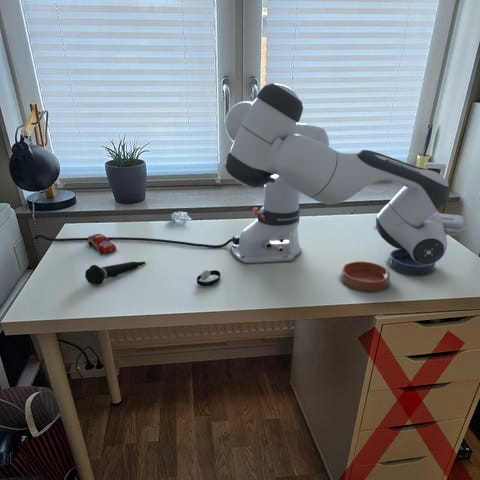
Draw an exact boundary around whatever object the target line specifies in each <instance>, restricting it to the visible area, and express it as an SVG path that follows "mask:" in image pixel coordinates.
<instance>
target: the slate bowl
mask: <svg viewBox="0 0 480 480" xmlns="http://www.w3.org/2000/svg"><path fill="white" fill-rule="evenodd" d="M436 263H437V262H435V263H432V264H426V265H424V264H419V263H417V262H416V261H415V260H413V258H412V257H411V256H410V254H409V252H408V251H407V250H402V249H398V248H395V249H393V250H392V251H390V253H389V257H388V265H389V267H390V268H392V269H393V270H395V271H398V272H400V273H402V274H406V275H412V276H414V275H415V276H424V275H428V274H430V273H432V272H433V271H434V270H435V266H436Z"/></svg>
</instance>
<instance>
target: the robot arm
mask: <svg viewBox="0 0 480 480" xmlns="http://www.w3.org/2000/svg"><path fill="white" fill-rule="evenodd" d="M303 112H304V107H303V102H302V101H301V99H300V98H299V96H298V94H296V92H295V91H294V90H293V89H292V88H290V87H289V86H287V85H285V84H281V83H273V82H271V83H267V84H265V85H264V86H263V87H262V88H261V89H260V90H259V91H258V93H256V95H255V98H254V100H253V101H240V102H238V103H235V104H234V105H233V106H231V108H229V110H228V112H227V113H226V116H225V121H224V127H225V132H226V135H227V136H228V138H229V139H230V140H231V141H232V142H233V143H232V146H231V148H230V151H228V152H227V155H226V159H225V164H224V167H225V169H226V172H227V173H228V174H229V175H230V177H231V178H232V179H233V180H234V181H235V182H237V183H238V184H240V185H243V186H246V187H250V188H259V187H263V205H262V207H261V208H260V209H259V208H258V207H257V206H255V207H253V208H252V213H253V214H254V215H255V216H257V219H255V220H254V221H253V222H251V223H250V224H249V225H248V226H247V227H245V228H244V229H242V230H241V231H240V234H236V235H232V238H230V239H228V240H227V241H226V242H224V243H222V244H215V245H214V244H205V243H195V242H187V241H180V240H171V239H160V238H148V237H126V236H124V237H122V236H121V237H119V236H111V237H110V236H109V237H108V236H106V237H107V238H108V239H109V240H110V239H111V240H110V241H143V242H155V243H156V242H157V243H168V244H177V245H184V246H189V247H191V246H192V247H201V248H209V249H219V248H224V247H227V246H228V245H229V244H230V243H232V246H231V253H232V254H233V256H234V257H235V258H236V259H237V260H238V261H240V262H242V263H244V264H259V263H260V264H262V263H280V262H291V261H292V262H293V260H294V259H295V257H296V256H298V255H299V254H300V253H301V247H300V241H299V223H300V217H301V216H300V215H301V209H300V198H301V194H303V195H305V196H306V197H308V198H310V199H312V200H313V201H315V202H319V203H321V204H325V205H337V204H340V203H343V202H345V201H347V200H349V199H351V198H352V197H354V196H355V195H356V194H357V193H359V192H360V191H362V190H363V189H365V188H367V187H369V186H371V185H373V184H375V183H377V182H380V181H388V182H391V183H394V184H396V185H400V186H402V188H400V189H399V191H398V192H396V194H395V195H394V196H393V197H392V198H391V199H390V200H389V201H388V202H387V203H386V204H385V206H384V207H382V208H381V210H380V211H379V212H378V213H377V214H376V215H375V226H376V225H377V228H376V229H377V232H378V234H379V236H380V237H381V238H382V239H383V240H384V241H385V242H386V243H387V244H389V245H390V246H391V247H393V248H395V249H402V250H407V251H408V252H409V254H410V256H411V257H412V258H413V260H415V261H416V262H417V263H419V264H424V265H426V264H432V263H435V262H436V263H437V262H438V261H440V260H441V259H442V258H443V257H444V255H445V253H446V252H447V247H448V238H447V236H451V237H452V236H453V237H458V236H460V235H461V234H466V233H467V227H466V226H464V224H465V217H464V216H462V215H460V214H449V213H441V212H439V210H440V209H441V208H442V207H443V206H444V205H446V204H447V203H448V202H449V199H450V194H451V193H450V192H451V186H450V183H449V182H448V181H447V180H446V178H445V177H444V176H442V175H441V174H440V173H439V172H436V171H434V170H431V169H428V168H423V167H419V166H415V165H413V164H410V163H407V162H404V161H401V160H400V159H397V158H393V157H391V156H388V155H385V154H383V153H381V152H380V153H379V152H377V151H373V150H369V149H361V150H360V151H357V152H351V153H350V152H349V153H347V152H346V153H345V152H340V151H337V150H336V149H334V148H332V147H330V139H329V136H328V132H327V131H326V130H325V128H323V127H320V126H317V125H313V124H310V123H303V122H300V120H301V117H302V115H303ZM39 238H42V239H44V240H46V241H51V242H75V241H76V242H77V241H78V242H80V241H88V237H70V238H69V237H67V238H55V237H54V238H51V237H48V236H46V235H43V234H36V235H35V236H34V238H33V240H37V239H39ZM436 263H435V264H436Z"/></svg>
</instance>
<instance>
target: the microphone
mask: <svg viewBox="0 0 480 480" xmlns="http://www.w3.org/2000/svg"><path fill="white" fill-rule="evenodd" d="M143 265H146V261H129V262H124V263H123V262H122V263H118V264H112V265H105V266H102V267H100V266H99V265H97V264H92V265H90V267H88V268H87V269H86V270H85V272H84V273H85V274H84V278H85V281H87V282H88V284H91V285H96V286H99V285H101V284H103V281H105V280H106V279H109V278H117V277H118V276H119V275H121V274H124V273H128V272H131V271H135V270H136V269H137V268H139V267H141V266H143Z"/></svg>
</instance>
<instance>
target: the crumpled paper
mask: <svg viewBox="0 0 480 480" xmlns="http://www.w3.org/2000/svg"><path fill="white" fill-rule="evenodd" d="M170 216H171V221H175V223H176V224H177V225H178V226H181V225H182V224H183V223H186V222H189V221H192V219H193V218H191V217H190V216H189V215H188V212H185V211H177V212H176V211H174V212H173V213H172V214H171V215H170Z"/></svg>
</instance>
